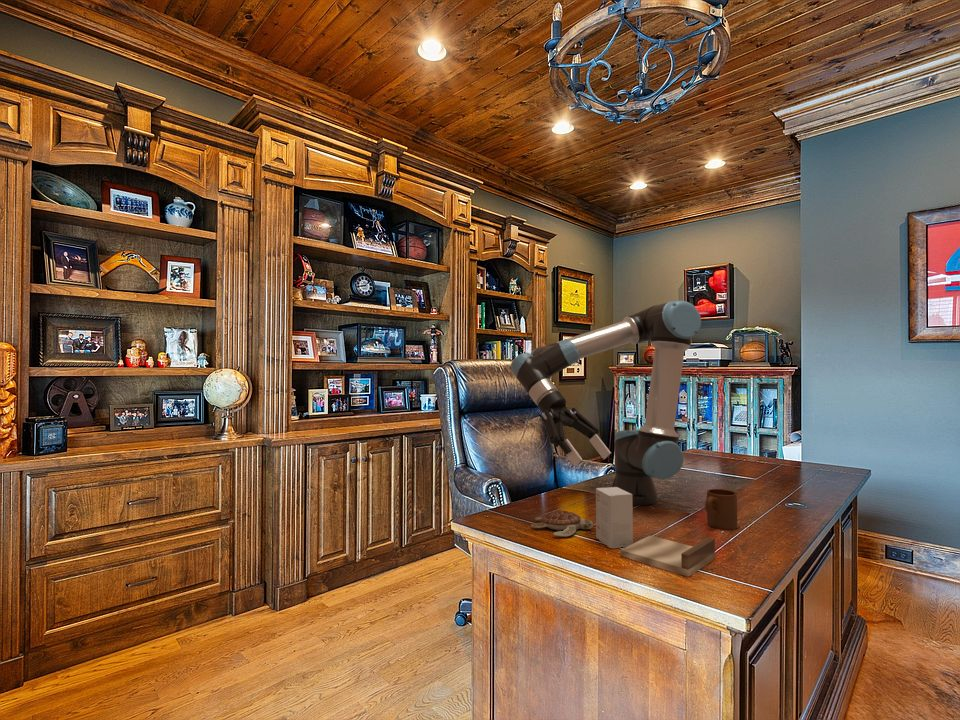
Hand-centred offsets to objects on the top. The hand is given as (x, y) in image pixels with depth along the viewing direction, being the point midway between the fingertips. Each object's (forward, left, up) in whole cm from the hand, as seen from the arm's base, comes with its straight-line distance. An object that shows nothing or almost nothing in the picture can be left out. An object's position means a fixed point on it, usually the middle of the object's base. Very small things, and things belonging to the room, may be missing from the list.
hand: (593, 459), depth 130 cm
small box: (+5, 0, -21) cm, 21 cm away
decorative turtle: (-11, 0, -21) cm, 23 cm away
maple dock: (+19, 0, -20) cm, 28 cm away
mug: (+19, +30, -21) cm, 42 cm away
